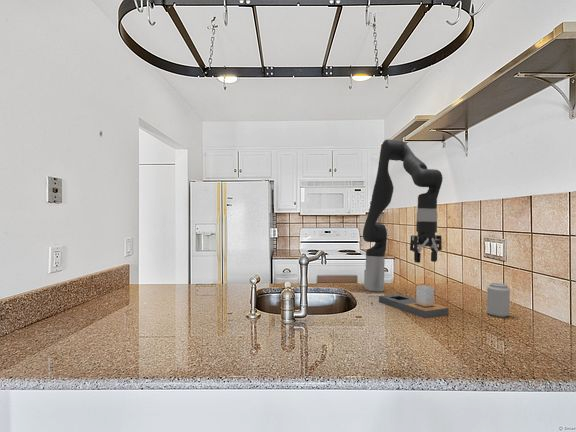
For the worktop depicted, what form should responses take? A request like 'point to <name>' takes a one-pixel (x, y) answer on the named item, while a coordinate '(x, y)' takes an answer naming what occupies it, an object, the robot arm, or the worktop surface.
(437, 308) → the grey peg board
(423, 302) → the peg
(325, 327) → the worktop surface
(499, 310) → the can
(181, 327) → the worktop surface
